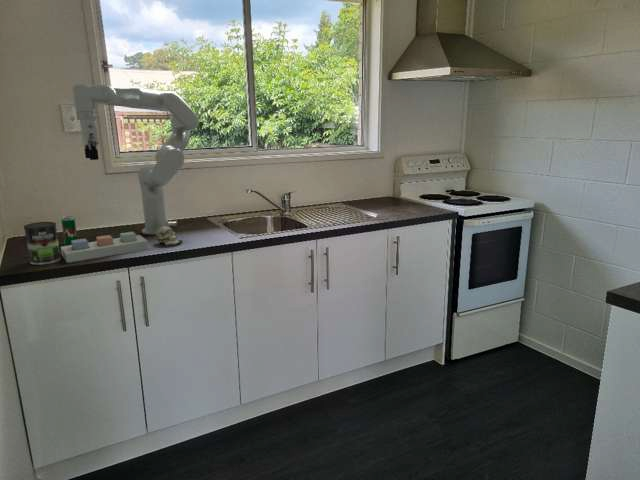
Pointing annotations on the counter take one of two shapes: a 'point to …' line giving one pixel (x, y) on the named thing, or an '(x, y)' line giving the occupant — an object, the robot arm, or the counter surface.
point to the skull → (166, 237)
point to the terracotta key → (104, 240)
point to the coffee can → (42, 243)
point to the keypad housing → (103, 249)
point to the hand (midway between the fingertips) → (92, 158)
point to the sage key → (128, 237)
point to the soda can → (69, 229)
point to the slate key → (79, 244)
